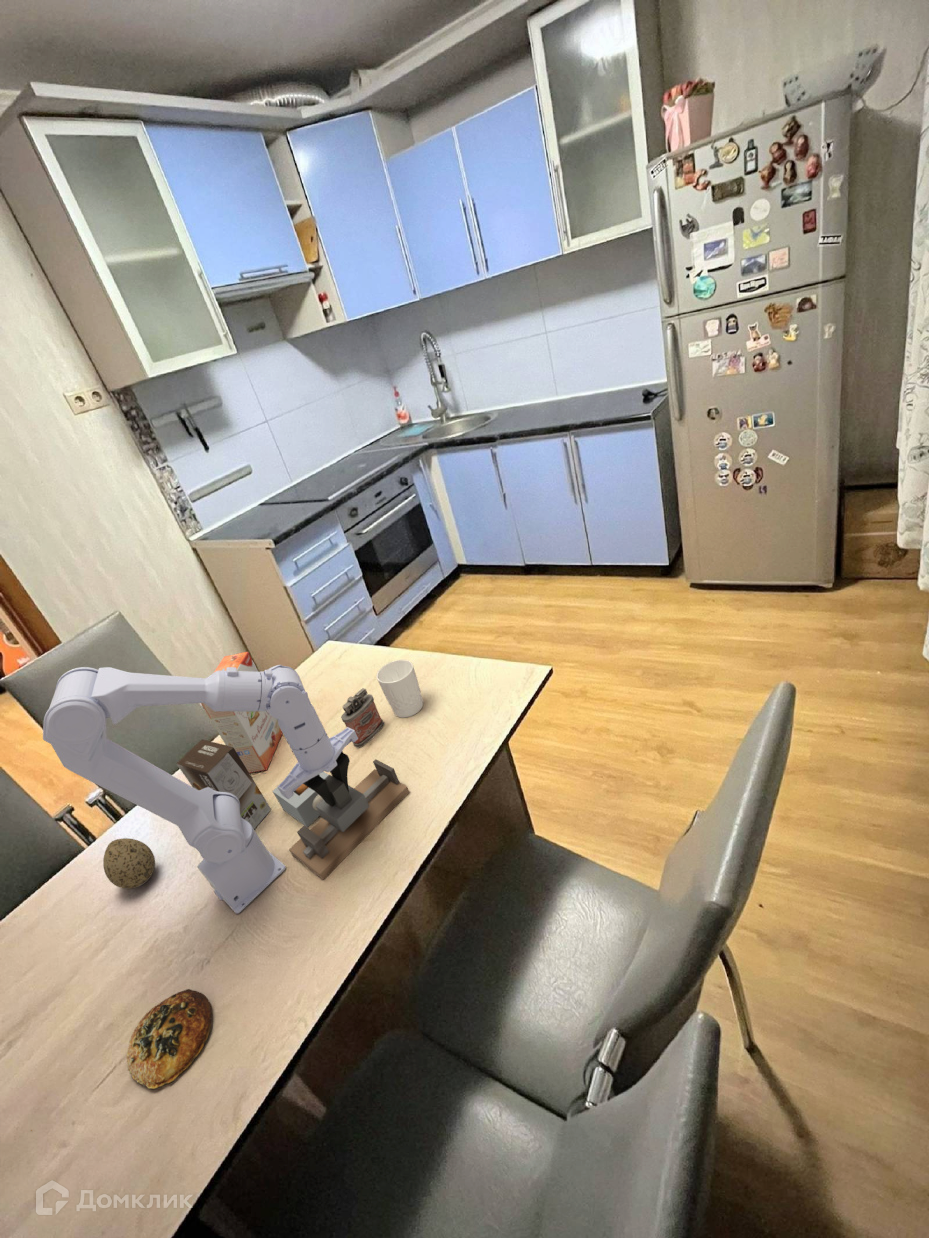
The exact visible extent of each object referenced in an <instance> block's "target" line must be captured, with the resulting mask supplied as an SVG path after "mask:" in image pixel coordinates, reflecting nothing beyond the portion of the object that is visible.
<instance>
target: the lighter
mask: <svg viewBox="0 0 929 1238" xmlns="http://www.w3.org/2000/svg"><path fill="white" fill-rule="evenodd" d="M374 700H375V698H374V695H372V694H368V691H367V689H366V688H364V687H362V688H361V689H360V690H358V691H357V692H356V693H355V694H354V695H353V696H349V697H348V698H347V700H346V702H345V703H344V704H343V705H342V709H343V711H344V712H343V713H342V714H341V716H340V719H341V720H342V722H343V723H344V725H345V727H346V728H347V727H348V728H351V729H353V730H355V732H356V735H357V737H358V740H356V741H355V742H352V745H353V746H354V747H355V748H362V747H364V746H365V745H366V744H368V743H369V742H370V741H371V740H372V739H373V738H375V737H376V735H378V733H379V732H381V730H382V729H383V727H384V725H385V722H384V719H382V717H381V715H380V712H379V709H378V708H377V706H376V704H375V701H374Z"/></svg>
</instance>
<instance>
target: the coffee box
mask: <svg viewBox="0 0 929 1238" xmlns="http://www.w3.org/2000/svg"><path fill="white" fill-rule="evenodd" d="M176 766H177V767H178V768H179V770H180V771H181V773H182V774H183V776H184V777H185V778H186V780H187V782H188V783H189V785H190V786H192V787H193V788H195V789H197V790H202V789H204V788H207V787H209V788H211V789H213V790H215V791H218V792H228V793H231V794H233V795H235V796H236V797H237V798H238V800H239V802H240V815H241V817H242V818H243V819H244V820H246V821H247V822H249V823H250V824H251V826H252V827H253V829H254V830H255V829H256V827H257V826H258V825H260V823H261V822H262V821H263V819H265V817H266V816H267V815H268V814H269V813H270V811H271V810H272V808H271V806H270V805H269V803H268V801H267V800H266V798H265V797H264V794H263V793H262V792H261V790H260V788H259V786H258V785H257V782H255V780H254V778H253V777H252V775H251V773H249V772H248V770H247V769H246V767H245V765H244V764H243V762H242V760H241V759H240V757H239V755H238V754H237V752H236V751H235V749H234V747H231V746H227V745H225V744H223V743H219V742H214V741H210V740H206V739H201V740H200V741H199V742H198V743H196V744H195V745H194V746H193V747H192V748H191V749H189V750H188V751H187V752H186V753H185V754H184V756H182V758H180V759H179V760H178V761H177V762H176Z"/></svg>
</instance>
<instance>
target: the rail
mask: <svg viewBox="0 0 929 1238" xmlns="http://www.w3.org/2000/svg"><path fill="white" fill-rule="evenodd" d="M372 764H373V765H374V769H373V770H372V771H371V772H370V773H369V774H368V775H366V776H365V778H363V779H362V780H361V781H360V782H359V783H358V784H357V785H356V786H355V787H353V788H354V789H356V790H357V791H359V792H361V793H362V794H364V796H365V798H366V800H367V802H368V804H369V807H368V808H367V809H366V810H365V811H364V812H363V813H362V814H361V815H360V816H359V817H358V818H357V819H356V820H355V821H354V822H353V823H352V824H351V825H350V826H349V827H348V828H347V829H346V830H345V831H344V832H342V831H340V830H339V829H337V828H336V827H335V826H333V825H332V824H330V823H329V822H327V821H326V820H324V819H323V818H322V817H321V819H319V821H317V823H316V824H314V825H313V826H312V827H311V828H308V827H306V826H305V825H302V827H301V828H299V829H298V830H297V831H296V833H297V835H298V836H299V839H298V840H297V841H296V842H295V843H294V844H293V845H292V846H290V848H289V849H288V850H289V852H290V854H291V855H292V856H293V858H295V859H296V860H298V861H299V862H300V863H301V864H303V865H304V866H305V867H306V868H307V869H308V870H310V871H312V873H314V874H315V875H316V876H318V877H319V878H320V879H321V880H322V881H324V880H325V879H326V878H327V877H328V876H329V875H330V874H331V873H332V872H333V871H334V870H335V868H337V867H338V866H339V865H340V864H341V863H342V862H343V860H345V859H346V858H347V857H348V856H349V855H350V854H351V852H353V850H355V848H357V847H358V846H359V844H360V843H361V842H362V841H363V840H365V838H366V837H368V835H370V833H372V831H373V830H374V829H375V828H376V827H377V826H378V825H379V824H380V823H381V822H382V821H383V820H384V819H385V818H386V817H387V816H388V814H390V813H391V812H392V810H394V809H395V807H397V806H398V805H399V804H400V803H401V802H402V801H403V800H404V798H405V797H406V796H407V795H408V794H409V793H410V790H409V788H408V786H407V785H405V784H404V783H401V781H400V780H399V777H398V775H397V772H396V771H395V769H394V767H391V766H389V765H388V764H386V763H383V762H382V761H380V760H378V759H374V760H373V761H372Z"/></svg>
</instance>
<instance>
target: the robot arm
mask: <svg viewBox="0 0 929 1238" xmlns="http://www.w3.org/2000/svg"><path fill="white" fill-rule="evenodd" d="M201 703H204V704H206V705H207V706H208V707H210V708H211V709H212V710H213V711H267V712H268V713H269V714H270V715H271V716H272V717H274V718H277V720H278V725H279V727H280V729H281V731H282V735H283V736H284V738H285V740H286V742H287V744H288V745H289V748H290V749H291V751H292V753H293V755H294V757H295V758H296V761H297V762H296V764H294V766H293V767H292V769H291V770H290V771H289V773H288V774H287V776H286V777H285V778H284V779H283V780H282V781H281V782H280V783H279V785H277V787H278V789H279V791H280V792H281V794H282V795H283V796H284V797H285V798H287V799H290V798H291V797H292V796H293V795H294V794H293V792H294V791H295V790H296V789H297V788H299V787H300V786H301V785H302V784H304V785H306V786H307V787H309V788H310V789H312V790H314V791H315V792H316V793H318V794H319V795H320V796H321V797H322V798H323V800H324V801H325V802H326V803H327V804H329V805H330V806H332V807H333V806H334V805H335V804H336V803H335V800H334V799H333V797H332V795H331V794H330V791H329V789H328V786H327V781H326V780H325V779H323V778H321V777H320V775H318V774H320V773H322V772H325V773H330V775H331V776H333V777H334V778H336V779H338V780H340V781H341V782H343V783H344V784H345V786H346V788H347V790H348V792H349V787H348V785H349V782H348V779H349V778H348V770H349V764H350V761H351V760H350V758H349V755H348V754H346V753H345V752H343V751H344V749H345V747H347V746H348V745H350V743H353V742H355V741H356V740H358V737H357V735H356V732H355V730H353V729H351V728H348V727H346V728H344V729H343V730H341V731H340V732H338V733H337V734H335V735H332V736H330V737H329V735H328V734H327V731H326V730H325V727H324V726H323V723H322V722H321V720H320V717H319V715H318V714H317V711H316V709H315V707H314V706H313V704H312V703H311V700H310V698H309V695H308V692H307V691H306V689H305V687H304V685H303V682H302V680H301V677H300V675H299V674H298V672H297V671H296V670H295V669H294V668H292V667H290V666H287V665H286V666H285V665H282V664H277V665H274V666H271V667H269V668H268V669H264V671H262V670H261V671H258V672H253V671H237V669H236V667H227V669H226V671H219V670H218V671H216V672H214V671H213V673H211V674H210V675H209V676H207V677H205V678H203V677H193V676H192V677H191V676H181V675H178V676H177V675H164V674H151V673H143V672H142V673H141V672H130V671H129V672H128V671H125V670H121V669H118V668H114V667H111V666H105V667H99V668H98V669H97V668H94V667H87V666H83V667H82V666H81V667H76V668H73V669H70V670H68V671H66V672H64V673H63V674H61V676H60V677H59V679H58V680H57V682H56V685H55V690H54V694H53V696H52V699H51V703H50V705H49V708H48V709H47V711H46V713H45V714H44V717H43V724H42V725H43V727H42V740H43V741H45V742H46V743H48V744H50V746H52V749H53V750H54V752H55V754H56V755H57V757H58V759H59V760H60V763H61V764H62V766H63V767H64V768H66V770H68V771H70V772H71V773H74V774H76V775H77V776H80V777H82V778H83V779H86V780H88V781H89V782H91V783H94V784H95V785H98V786H99V787H101V788H103V789H105V790H107V791H109V792H111V793H112V794H115V795H117V796H119V797H121V798H123V799H124V800H127V801H128V802H130V803H133V804H134V805H137V806H138V807H140V808H142V809H145V810H147V811H149V812H150V813H152V814H154V815H156V816H158V817H160V818H161V819H164V820H166V821H168V822H169V823H172V824H173V825H175V826H177V827H178V829H179V830H180V832H181V834H182V836H183V837H184V839H185V841H186V843H187V844H188V846H190V847H192V848H194V849H196V850H197V851H198V852H199V855H200V857H201V858H202V860H201V861H200V862H199V863H198V865H197V866H196V867H197V868H198V870H199V872H200V873H201V874H202V875H203V877H204V878H205V879H206V881H207V883H208V884H209V885H210V886H211V887H212V889H214V891H213V892H214V894H215V895H216V896H217V898H218V899H219V900H220V901H222V900H223V901H224V903H225V904H227V906H228V907H230V908H231V910H232V911H234V913H235V914H237V915H238V914H240V913H241V912H242V911H243V910H244V909H246V907H247V906H248V905H249V904H250V903H252V901H253V900H255V899H256V897H258V896H259V895H260V894H261V893H262V892H263V891H264V890H265V889H266V888H267V887H268V886H270V884H272V883H273V881H275V879H277V877H279V875H281V874H282V873H283V872H284V871H285V870H286V868H287V867H286V864H284V863H283V862H282V861H281V860H280V859H278V858H277V857H276V856H274V854H273V853H272V852H270V851H269V850H268V849H267V847H266V846H265V844H264V842H263V841H262V839H261V838H260V837H259V835H258V834H257V832H256V831H255V829H253V827H252V826H251V824H250V823H249V822H247V821H246V820H244V819H243V818H242V817H241V815H240V802H239V800H238V798H237V797H236V796H235V795H233V794H231V793H228V792H218V791H215V790H213V789H211V788H209V787H207V788H204V789H202V790H197V789H195V788H193V787H192V785H191V784H188V783H186V782H184V781H183V780H180V779H179V778H177V777H175V776H174V775H172V774H171V773H168V772H167V771H165V770H163V769H162V768H160V767H158V766H156V765H154V764H153V763H151V762H149V761H147V760H146V759H144V758H143V757H141V756H139V755H137V754H135V753H133V752H131V751H129V750H128V749H126V748H124V747H123V746H121V745H119V744H118V743H116V742H114V741H113V740H111V739H109V738H108V737H107V719H109V718H111V722H112V724H113V725H117V724H118V723H119V722H121V721H122V720H123V719H125V718H126V717H127V716H128V715H130V714H131V713H132V712H133V711H134V710H136V709H137V708H139V707H148V706H149V707H152V706H153V707H154V706H169V705H170V706H174V705H191V704H192V705H193V704H201ZM277 787H276V788H277Z"/></svg>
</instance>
